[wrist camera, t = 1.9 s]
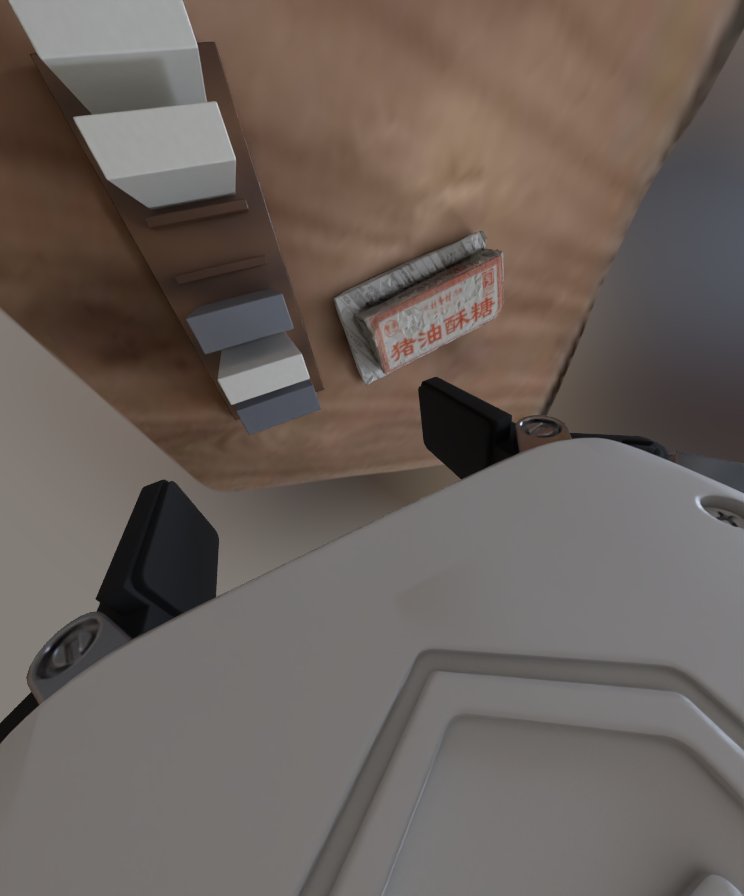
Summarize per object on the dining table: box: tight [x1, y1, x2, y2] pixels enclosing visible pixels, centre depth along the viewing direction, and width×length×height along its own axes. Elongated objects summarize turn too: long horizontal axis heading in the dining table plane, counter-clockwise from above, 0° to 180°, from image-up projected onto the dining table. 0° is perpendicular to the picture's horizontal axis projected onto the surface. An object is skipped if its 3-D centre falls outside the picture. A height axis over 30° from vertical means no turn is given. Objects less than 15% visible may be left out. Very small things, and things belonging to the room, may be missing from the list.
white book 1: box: [8, 0, 207, 115], centre depth 14 cm, size 2×6×9 cm, turn 101°
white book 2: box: [73, 101, 236, 210], centre depth 17 cm, size 2×6×9 cm, turn 101°
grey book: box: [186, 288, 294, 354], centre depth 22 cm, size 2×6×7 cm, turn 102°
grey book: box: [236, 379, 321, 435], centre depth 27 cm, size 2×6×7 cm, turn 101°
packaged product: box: [333, 231, 504, 385], centre depth 30 cm, size 18×5×10 cm
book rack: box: [30, 42, 324, 420], centre depth 24 cm, size 24×10×2 cm, turn 11°
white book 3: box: [218, 332, 310, 405], centre depth 24 cm, size 2×6×9 cm, turn 101°
